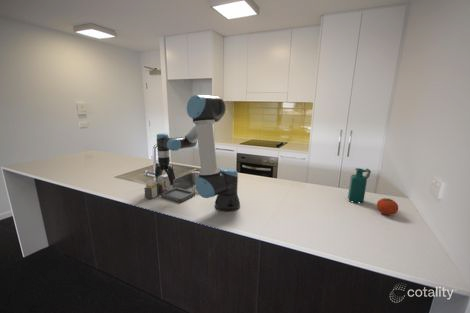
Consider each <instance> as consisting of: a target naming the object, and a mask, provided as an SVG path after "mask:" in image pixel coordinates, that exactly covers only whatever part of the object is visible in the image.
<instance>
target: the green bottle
mask: <svg viewBox="0 0 470 313" xmlns="http://www.w3.org/2000/svg"><path fill="white" fill-rule="evenodd" d="M354 170H355V171H356V172H355V174H351V175H350V178H349V187H348V193H347V200H348V199H349V200H350V201H353V202H360V203H363V204H364V202H365V196H366V189H367V183H368V179H369V177H370V175H371V173H372V171H371V170H370V169H369V168H365V169H364V168H360V167H359V168H358V167H357V168H355V169H354ZM363 173H366V174H365V176H364V174H363ZM349 200H348V201H349ZM350 201H349V202H350Z"/></svg>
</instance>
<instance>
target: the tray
mask: <svg viewBox="0 0 470 313" xmlns="http://www.w3.org/2000/svg"><path fill="white" fill-rule="evenodd" d="M193 196H194V197H195V196H196V192H195V191H194V190H193V191H192V190H188V189H184V188H181V187H176V186H175V187H174V188H173V189H171V190H169V191H166V192H164V193H162V194H161V195H160V198H161V199H165V200H168V201H171V202H172V201H173V202H174V203H179V204H182V203H184V202H186V201H189V199H192V198H194V197H193Z"/></svg>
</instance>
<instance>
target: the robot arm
mask: <svg viewBox="0 0 470 313" xmlns="http://www.w3.org/2000/svg"><path fill="white" fill-rule="evenodd" d="M226 110H227V107H226V103H225V101H224V100H223V99H222V98H221V97H220V96H217V95H207V94H195V95H192V96H190V98H189V100H188V101H187V103H186V113H187V115H188V117H189V118H191V119H192V123H193V124H195V125H194V126H193V127H192V128H191V129H190V130H189V131H188V133H187V134H186V135H185V136H180V137H179V136H178V137H169V134H168V133H158V134H156V147H157V148H156V149H157V162H156V163H155V167H156V168H155V173H154V177H155V178H157V179H158V176H160V175H163V173H164V172H165V174H167V175H168V178H169V190H171V189H173V180H174V181H175V180H176V176H175V173H174V172H175V171H174V166H173V164H171V165H170V162H171V158H170V151H174V152H175V151H177V152H178V150H181V149H188V148H194V147H196V146H197V145H198V154H199V156H198V157H199V164H200V170H199V172H198V177H197V179H196V180H195V182H194V185H195V186H194V187H195V190H196V192H197V194H198V195H199V196H200V197H201V198H203V199H209V198H213V197H215V196H216V199H215V201H214V207H215V208H216V209H217V210H219V211H224V212H232V211H236V210H238V209H239V208H240V207H241V203H240V201H241V200H240V198H239V196H238V195H239V194H238V182H239V178H238V177H239V176H238V175H239V173H238V171H237V170H236V169H234V168H229V167H219V168H218V167H217V166H218V165H217V157H216V145H215V137H214V135H215V134H214V126H213V125H214V124H215V123H217V122H220V121H221V119H222V118H223V117H224V115H225V114H226ZM163 171H164V172H163Z"/></svg>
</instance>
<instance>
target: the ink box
mask: <svg viewBox="0 0 470 313" xmlns="http://www.w3.org/2000/svg"><path fill="white" fill-rule="evenodd" d="M157 184H161V185H162V193H164V192H166V191H169V178H168V175H167V173H163V174H162V175H160V176H158V178H157Z"/></svg>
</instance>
